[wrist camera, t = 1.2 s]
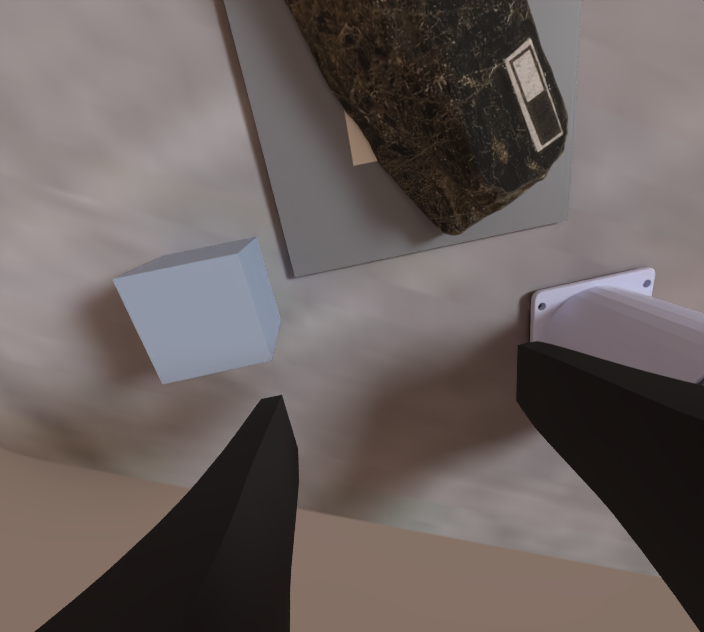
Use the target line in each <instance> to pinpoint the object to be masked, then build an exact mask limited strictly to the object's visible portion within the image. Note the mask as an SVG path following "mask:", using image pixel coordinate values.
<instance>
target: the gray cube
mask: <svg viewBox="0 0 704 632" xmlns="http://www.w3.org/2000/svg"><path fill="white" fill-rule="evenodd" d="M112 280H113V282H114V284H115V286H116V288H117V290H118V293H119V295H120V297H121V299H122V301H123V303H124V305H125V307H126V309H127V311H128V313H129V316H130V318H131V320H132V322H133V324H134V326H135V328H136V330H137V332H138V334H139V337H140V339H141V341H142V343H143V345H144V347H145V349H146V351H147V353H148V355H149V357H150V360H151V362H152V364H153V366H154V368H155V370H156V372H157V374H158V376H159V378H160V380H161V383H162V385H163V384H168V383H172V382H177V381H181V380H186V379H190V378H195V377H199V376H204V375H209V374H213V373H218V372H222V371H227V370H231V369H236V368H240V367H245V366H250V365H254V364H259V363H263V362H268V361H272V358H273V353H274V349H275V344H276V340H277V336H278V331H279V327H280V322H281V319H280V316H279V312H278V309H277V306H276V302H275V299H274V295H273V292H272V288H271V285H270V281H269V278H268V274H267V271H266V268H265V264H264V261H263V257H262V254H261V250H260V247H259V243H258V240H257V237H254V238H249V239H244V240H239V241H234V242H229V243H224V244H219V245H214V246H209V247H204V248H199V249H194V250H189V251H185V252H180V253H175V254H170V255H165V256H162V257H160V258H158V259H156V260H153V261H151V262H149V263H147V264H144V265H142V266H140V267H138V268H136V269H133V270H131V271H129V272H127V273H125V274H122V275H120V276H118V277H116V278H114V279H112Z"/></svg>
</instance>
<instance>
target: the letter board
mask: <svg viewBox="0 0 704 632" xmlns="http://www.w3.org/2000/svg"><path fill="white" fill-rule="evenodd" d="M527 1H528V4H529V7H530V10H531V13H532V16H533V19H534V22H535V26H536V29H537V32H538V36H539V40H540V43H541V46H542V49H543V51H544V53H545V56H546V58H547V60H548V62H549V64H550V66H551V68H552V71H553V75H554V78H555V80H556V83H557V86H558V88H559V91H560V93H561V96H562V98H563V101H564V104H565V107H566V110H567V114H568V134H567V138H566V142H565V150H564V152H563V153H562V155H561V156H560V157H559V158H558V159H557V160H556V161H555V162H554V163H553V165H552V166H551V168H550V171H549V173H548V175H547V177H546V178H545V179H543V180H542V181H539V182H537V183H536V184H535V185H533V186H532V187H531V188H530V189H529V190H528V191H527V192H525V193H524V194H522V195H521V196H520V197H518V198H517V199H516V200H514V201H513V202H512V203H511V204H509V205H508V206H506V207H505V208H503V209H502V210H499V211H497V212H495V213H493V214H491V215H489V216H487V217H485V218H484V219H482V220H481V221H479V222H478V223H476V224H474V225H473V226H471V227H470V228H468V229H467V230H466V231H464V232H463V233H462V234H460V235H456V236H452V235H448V234H444V233H443V232H441V231H440V230H438V228H437V227H436V226H435V225H434V224H433V223H432V222H431V221H430V220H429V219H428V217H427V216H426V215H425V214H424V213H423V212H422V211H421V210H420V209H419V207H418V206H417V205H416V204H415V203H414V202H413V201H412V200H411V199H410V198H409V197H408V196H407V195H406V193H405V192H404V191H403V190H402V189H401V187H400V186H399V185H398V184H397V183H396V182H395V181H394V179H393V178H392V177H391V176H390V175H389V174H388V173H387V172H386V171H385V170H384V169H383V167H382V166H381V165H380V164H379V163H378V161H377V159H376V157H375V155H374V153H373V151H372V148H371V146H370V144H369V142H368V141H367V139H366V138H365V136H364V135H363V133H362V131H361V130H360V128H359V127H358V125H357V124H356V123H355V122H354V121H353V119H352V118H351V117H350V116H349V115H348V114H347V113H346V112H345V110H344V108H343V106H342V104H341V103H340V101H339V100H338V99H337V98H336V97H335V96H334V94H333V93H332V91H331V89H330V87H329V86H328V84H327V82H326V81H325V79H324V77H323V75H322V73H321V72H320V69H319V67H318V65H317V63H316V61H315V59H314V57H313V55H312V53H311V51H310V48H309V46H308V44H307V42H306V41H305V39H304V37H303V36H302V34H301V31H300V29H299V27H298V25H297V23H296V21H295V18H294V16H293V14H292V13H291V11H290V9H289V7H288V6H287V4H286V2H285V0H224V4H225V8H226V11H227V15H228V19H229V23H230V27H231V31H232V35H233V39H234V43H235V46H236V50H237V54H238V58H239V62H240V66H241V70H242V74H243V77H244V81H245V85H246V89H247V93H248V97H249V101H250V105H251V109H252V112H253V116H254V120H255V124H256V128H257V132H258V136H259V140H260V143H261V147H262V151H263V155H264V159H265V163H266V167H267V171H268V175H269V178H270V182H271V186H272V190H273V194H274V198H275V202H276V206H277V209H278V213H279V217H280V221H281V225H282V229H283V233H284V237H285V241H286V244H287V248H288V252H289V256H290V260H291V264H292V268H293V272H294V275H295V277H299V276H304V275H309V274H314V273H319V272H323V271H328V270H333V269H338V268H342V267H347V266H352V265H357V264H362V263H366V262H371V261H376V260H381V259H386V258H390V257H395V256H400V255H405V254H409V253H414V252H419V251H424V250H429V249H433V248H438V247H443V246H448V245H452V244H457V243H462V242H467V241H472V240H476V239H481V238H486V237H491V236H495V235H500V234H505V233H510V232H515V231H519V230H524V229H529V228H534V227H539V226H543V225H548V224H553V223H558V222H562V221H567V220H568V210H569V195H570V179H571V164H572V149H573V133H574V118H575V103H576V87H577V72H578V57H579V42H580V26H581V11H582V0H527Z"/></svg>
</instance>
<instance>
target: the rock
mask: <svg viewBox="0 0 704 632" xmlns="http://www.w3.org/2000/svg"><path fill="white" fill-rule="evenodd" d="M285 2H286V4H287V6H288V7H289V9H290V11H291V13H292V14H293V16H294V18H295V21H296V23H297V25H298V27H299V29H300V31H301V34H302V36H303V37H304V39H305V41H306V42H307V44H308V46H309V48H310V51H311V53H312V55H313V57H314V59H315V61H316V63H317V65H318V67H319V69H320V72H321V73H322V75H323V77H324V79H325V81H326V82H327V84H328V86H329V87H330V89H331V91H332V93H333V94H334V96H335V97H336V98H337V99H338V100H339V101H340V103H341V104H342V106H343V108H344V110H345V112H346V113H347V114H348V115H349V116H350V117H351V118H352V119H353V121H354V122H355V123H356V124H357V125H358V127H359V128H360V130H361V131H362V133H363V135H364V136H365V138H366V139H367V141H368V142H369V144H370V146H371V148H372V151H373V153H374V155H375V157H376V159H377V161H378V163H379V164H380V165H381V166H382V167H383V169H384V170H385V171H386V172H387V173H388V174H389V175H390V176H391V177H392V178H393V179H394V181H395V182H396V183H397V184H398V185H399V186H400V187H401V189H402V190H403V191H404V192H405V193H406V195H407V196H408V197H409V198H410V199H411V200H412V201H413V202H414V203H415V204H416V205H417V206H418V207H419V209H420V210H421V211H422V212H423V213H424V214H425V215H426V216H427V217H428V219H429V220H430V221H431V222H432V223H433V224H434V225H435V226H436V227H437V228H438V230H440V231H441V232H443V233H444V234H448V235H452V236H456V235H460V234H462V233H463V232H464V231H466V230H467V229H468V228H470V227H471V226H473V225H474V224H476V223H478V222H479V221H481V220H482V219H484V218H485V217H487V216H489V215H491V214H493V213H495V212H497V211H499V210H502V209H503V208H505V207H506V206H508V205H509V204H511V203H512V202H513V201H514V200H516V199H517V198H518V197H520V196H521V195H522V194H524V193H525V192H527V191H528V190H529V189H530V188H531V187H532V186H533V185H535V184H536V183H537V182H539V181H542V180H543V179H545V178H546V177H547V175H548V173H549V171H550V168H551V166H552V165H553V163H554V162H555V161H556V160H557V159H558V158H559V157H560V156H561V155H562V153H563V152H564V150H565V142H566V138H567V134H568V114H567V110H566V107H565V104H564V101H563V98H562V96H561V93H560V91H559V88H558V86H557V83H556V80H555V78H554V75H553V71H552V68H551V66H550V64H549V62H548V60H547V58H546V56H545V53H544V51H543V49H542V46H541V43H540V40H539V36H538V32H537V29H536V26H535V22H534V19H533V16H532V13H531V10H530V7H529V4H528V1H527V0H285Z"/></svg>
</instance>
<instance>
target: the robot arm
mask: <svg viewBox="0 0 704 632" xmlns="http://www.w3.org/2000/svg"><path fill="white" fill-rule="evenodd" d="M654 278H655V271H654V269H652V268H648V267H643V268H638V269H634V270H629V271H625V272H620V273H615V274H611V275H606V276H602V277H597V278H592V279H588V280H583V281H579V282H574V283H569V284H565V285H560V286H556V287H551V288H546V289H542V290H538V291H536V292H535V293H534V294H533V295H532V298H531V325H530V343H525V344H521V345H518V358H517V394H516V401H517V402H518V404H519V405H520V407H521V408H522V410H523V411H524V413H525V414H526V416H527V417H528V418H529V420H530V421H531V423H532V424H533V425H534V427H535V428H536V429H537V430H538V432H539V433H540V434H541V435H542V436H543V437H544V438H545V439H546V440H547V442H548V443H549V444H550V445H551V446H552V447H553V448H554V449H555V450H556V451H557V452H558V454H559V455H560V456H561V457H562V458H563V459H564V460H565V461H566V462H567V463H568V464H569V465H570V467H571V468H572V469H573V470H574V471H575V472H576V473H577V474H578V475H579V476H580V477H581V478H582V479H583V481H584V482H585V483H586V484H587V485H588V486H589V487H590V488H591V489H592V490H593V491H594V492H595V493H596V495H597V496H598V497H599V498H600V499H601V500H602V501H603V503H604V504H605V505H606V506H607V507H608V508H609V510H610V511H611V512H612V513H613V514H614V516H615V517H616V518H617V520H618V521H619V522H620V523H621V525H622V526H623V527H624V529H625V530H626V531H627V532H628V534H629V535H630V536H631V538H632V539H633V540H634V541H635V543H636V544H637V545H638V547H639V548H640V549H641V550H642V552H643V553H644V554H645V556H646V557H647V558H648V560H649V561H650V563H651V564H652V565H653V567H654V568H655V569H656V571H657V572H658V573H659V575H660V576H661V577H662V579H663V580H664V581H665V583H666V584H667V585H668V587H669V588H670V590H671V591H672V592H673V594H674V595H675V596H676V598H677V599H678V601H679V602H680V603H681V605H682V606H683V608H684V609H685V611H686V612H687V613H688V615H689V616H690V618H691V619H692V621H693V622H694V623H695V625H696V626H697V628H698V629H699V631H700V632H704V313H701V312H698V311H694V310H691V309H688V308H685V307H682V306H679V305H675V304H672V303H669V302H666V301H663V300H660V299H657V298H653V297H651V295H652V289H653V283H654ZM644 282H645V283H644ZM643 283H644V284H643ZM541 303H542V305H541V307H540V308H538V306H539V304H541ZM298 487H299V464H298V447H297V444H296V440H295V437H294V434H293V430H292V427H291V424H290V420H289V417H288V414H287V410H286V407H285V404H284V400H283V397H282V395H279V396H274V397H269V398H264V399H261V400H260V401H259V403H258V404H257V405H256V407H255V408H254V410H253V411H252V412H251V414H250V415H249V416H248V418H247V419H246V421H245V422H244V423H243V425H242V426H241V427H240V429H239V430H238V432H237V433H236V434H235V436H234V437H233V438H232V440H231V441H230V442H229V444H228V445H227V446H226V448H225V449H224V450H223V451H222V453H221V454H220V455H219V456H218V457H217V459H216V460H215V461H214V462H213V464H212V465H211V466H210V467H209V468H208V470H207V471H206V472H205V473H204V474H203V476H202V477H201V478H200V479H199V480H198V482H197V483H196V484H195V485H194V486H193V487H192V488H191V490H190V491H189V492H188V493H187V494H186V495H185V496H184V497H183V498H182V500H180V502H179V503H178V504H177V505H176V506H175V507H174V508H173V509H172V510H171V511H170V512H169V513H168V514H167V515H166V516H165V517H164V518H163V519H162V520H161V521H160V522H159V523H158V524H157V525H156V526H155V527H154V528H153V529H152V530H151V531H150V532H149V533H148V534H147V535H146V536H144V537H143V538H142V539H141V540H140V541H139V542H138V543H137V544H136V545H135V546H134V547H133V548H132V549H130V551H128V552H127V553H126V554H125V555H124V556H123V557H122V558H121V559H120V560H119V561H118V562H117V563H115V564H114V565H113V566H112V567H111V568H110V569H109V570H108V571H107V572H106V573H104V574H103V575H102V576H101V577H100V578H99V579H97V580H96V581H95V582H94V583H93V584H92V585H90V586H89V587H88V588H87V589H86V590H85V591H83V592H82V593H81V594H80V595H79V596H78V597H76V598H75V599H74V600H73V601H72V602H71V603H69V604H68V605H67V606H65V607H64V608H63V609H62V610H61V611H59V612H58V613H57V614H56V615H55V616H53V617H52V618H51V619H50V620H48V621H47V622H46V623H45V624H44V625H42V626H41V627H40V628H39V629H37V630H36V631H35V632H290V580H291V565H292V554H293V543H294V531H295V521H296V510H297V499H298Z"/></svg>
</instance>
